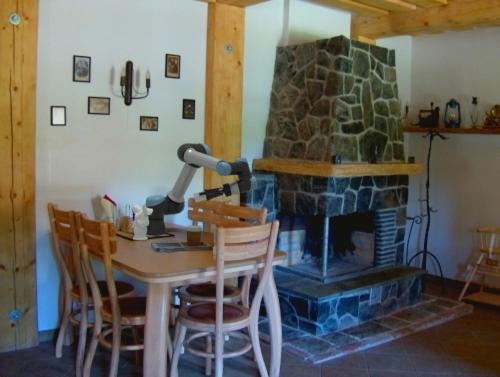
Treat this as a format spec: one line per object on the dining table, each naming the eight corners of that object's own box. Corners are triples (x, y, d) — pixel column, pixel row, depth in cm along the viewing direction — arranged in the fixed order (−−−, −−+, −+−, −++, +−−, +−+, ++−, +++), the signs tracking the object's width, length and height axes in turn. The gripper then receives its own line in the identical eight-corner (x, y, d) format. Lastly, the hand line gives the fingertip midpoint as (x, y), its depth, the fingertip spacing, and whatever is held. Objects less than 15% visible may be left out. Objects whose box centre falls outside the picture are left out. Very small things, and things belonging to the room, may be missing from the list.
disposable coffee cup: (181, 248, 322) (182, 226, 321) (191, 245, 330) (191, 224, 329) (196, 250, 318) (196, 228, 316) (205, 247, 326) (205, 226, 325)
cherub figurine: (129, 238, 346) (129, 201, 345) (148, 236, 354) (148, 201, 352) (138, 241, 337) (139, 203, 335) (157, 239, 344) (158, 202, 342)
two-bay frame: (150, 245, 326) (150, 242, 326) (204, 243, 336) (204, 240, 336) (156, 252, 307) (156, 249, 307) (212, 250, 317) (213, 247, 317)
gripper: (232, 191, 317) (194, 201, 315) (232, 198, 341) (197, 207, 340) (228, 178, 318) (191, 187, 316) (229, 186, 342) (194, 195, 341)
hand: (194, 198), depth 328 cm, fingers open, 13 cm apart
